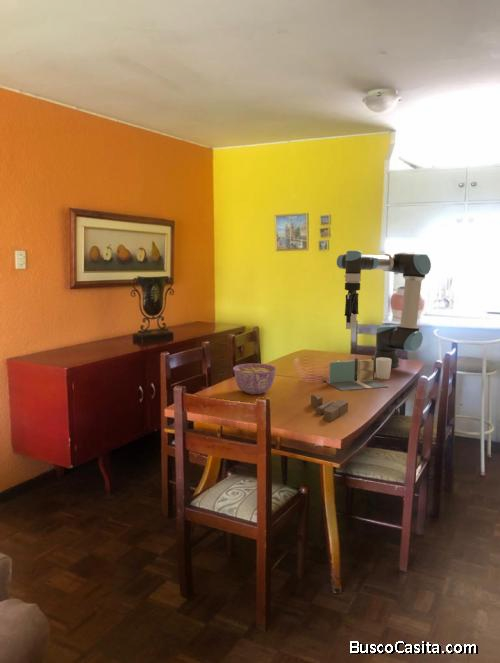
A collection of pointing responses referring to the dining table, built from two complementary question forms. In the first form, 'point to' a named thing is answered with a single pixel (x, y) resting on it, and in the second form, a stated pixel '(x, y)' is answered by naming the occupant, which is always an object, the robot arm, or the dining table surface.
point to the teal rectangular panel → (342, 371)
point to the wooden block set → (329, 408)
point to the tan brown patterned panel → (364, 369)
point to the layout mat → (357, 385)
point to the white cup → (383, 368)
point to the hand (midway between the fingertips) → (351, 327)
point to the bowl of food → (254, 377)
